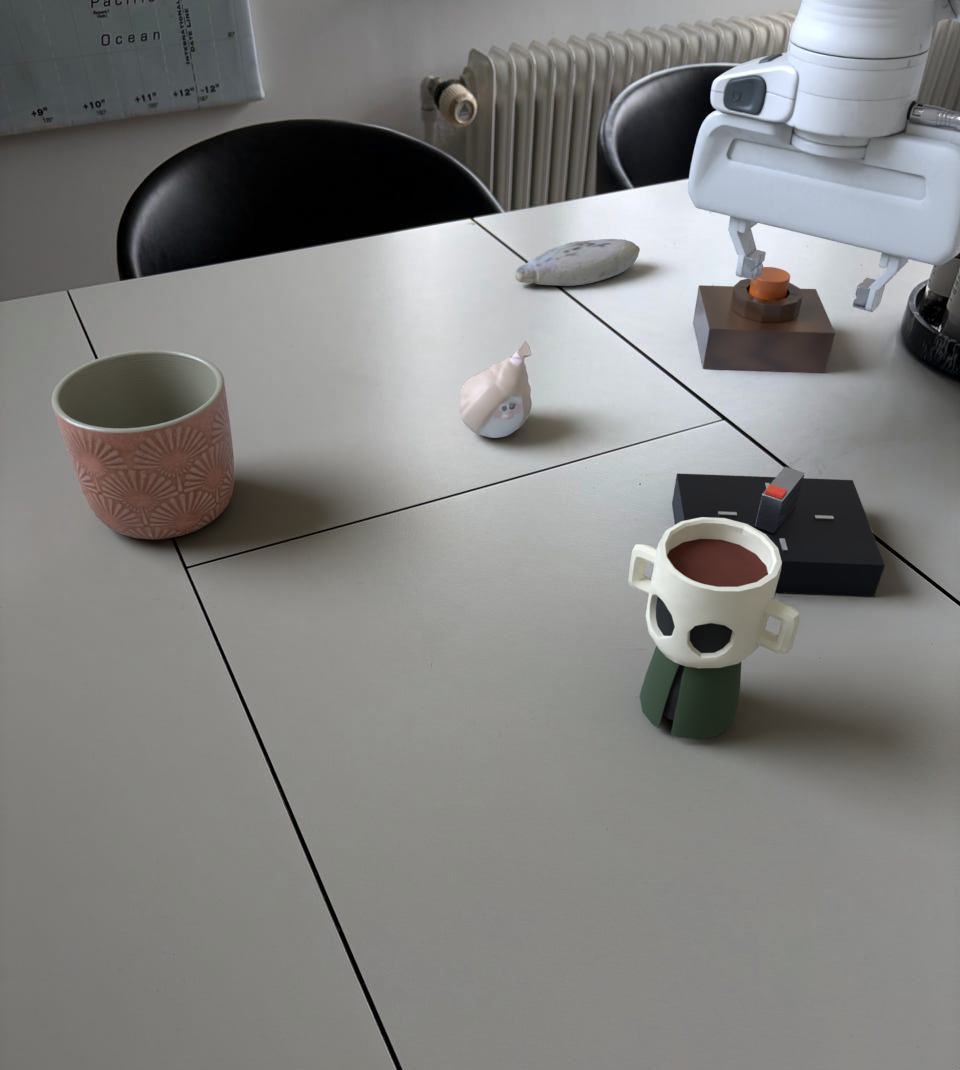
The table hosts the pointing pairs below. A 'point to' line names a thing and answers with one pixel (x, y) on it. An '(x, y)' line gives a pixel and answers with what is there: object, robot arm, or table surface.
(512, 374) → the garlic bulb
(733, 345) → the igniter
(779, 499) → the knob
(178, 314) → the table surface
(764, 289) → the button
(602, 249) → the decorative stone
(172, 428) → the planter
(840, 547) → the panel
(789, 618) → the character mug
